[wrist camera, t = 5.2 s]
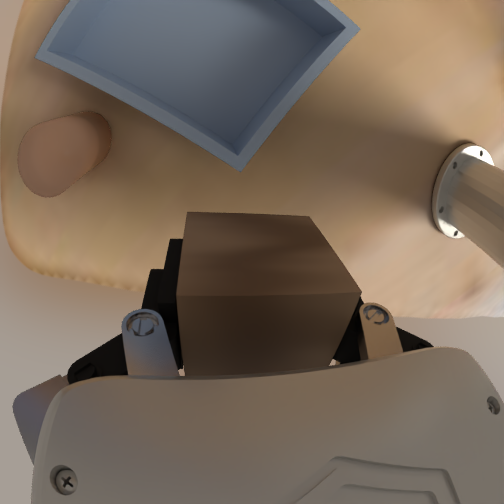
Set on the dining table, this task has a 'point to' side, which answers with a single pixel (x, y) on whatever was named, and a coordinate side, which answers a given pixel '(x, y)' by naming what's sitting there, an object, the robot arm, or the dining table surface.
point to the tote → (201, 61)
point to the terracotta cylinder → (62, 151)
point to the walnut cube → (260, 295)
